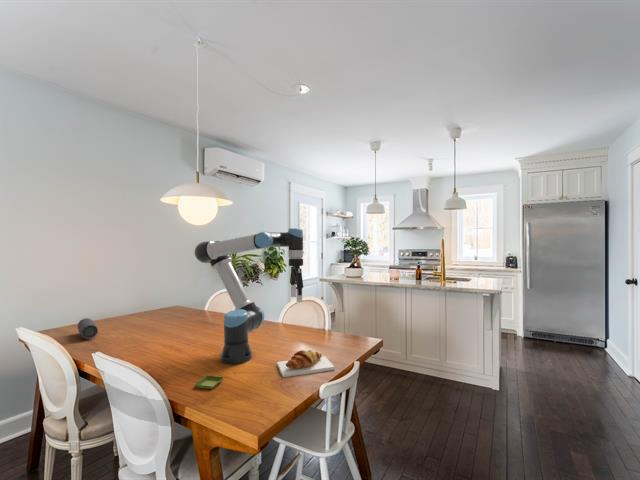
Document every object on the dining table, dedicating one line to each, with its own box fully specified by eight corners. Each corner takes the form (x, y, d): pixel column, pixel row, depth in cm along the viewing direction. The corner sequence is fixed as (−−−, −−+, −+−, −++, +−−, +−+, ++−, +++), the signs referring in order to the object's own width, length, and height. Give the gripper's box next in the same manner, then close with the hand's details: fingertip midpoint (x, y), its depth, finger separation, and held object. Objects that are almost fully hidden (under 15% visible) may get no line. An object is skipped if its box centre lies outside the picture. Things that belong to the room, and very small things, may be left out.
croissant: (317, 363, 157) (312, 347, 160) (330, 358, 150) (324, 342, 153) (283, 375, 142) (278, 357, 145) (295, 371, 136) (290, 352, 139)
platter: (282, 377, 137) (282, 373, 137) (277, 365, 151) (277, 362, 151) (334, 370, 144) (334, 366, 144) (325, 359, 158) (325, 356, 158)
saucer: (212, 391, 126) (212, 386, 126) (193, 389, 128) (193, 384, 128) (224, 381, 134) (224, 377, 134) (206, 379, 136) (206, 375, 136)
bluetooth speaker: (76, 334, 205) (76, 318, 205) (94, 331, 211) (94, 316, 211) (79, 342, 188) (79, 325, 188) (99, 339, 194) (98, 322, 194)
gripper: (309, 259, 153) (309, 303, 153) (297, 256, 177) (297, 294, 177) (294, 259, 151) (294, 304, 151) (284, 257, 174) (284, 295, 174)
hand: (296, 299), depth 164 cm, fingers open, 13 cm apart
